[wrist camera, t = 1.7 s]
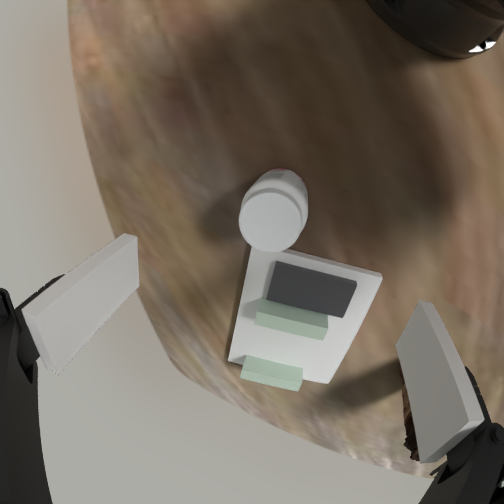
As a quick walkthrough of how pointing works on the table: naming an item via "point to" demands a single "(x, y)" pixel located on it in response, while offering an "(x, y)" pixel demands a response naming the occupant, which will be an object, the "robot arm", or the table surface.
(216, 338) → the table surface
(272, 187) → the pill bottle
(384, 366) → the table surface
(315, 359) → the dock
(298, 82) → the table surface
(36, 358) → the robot arm
